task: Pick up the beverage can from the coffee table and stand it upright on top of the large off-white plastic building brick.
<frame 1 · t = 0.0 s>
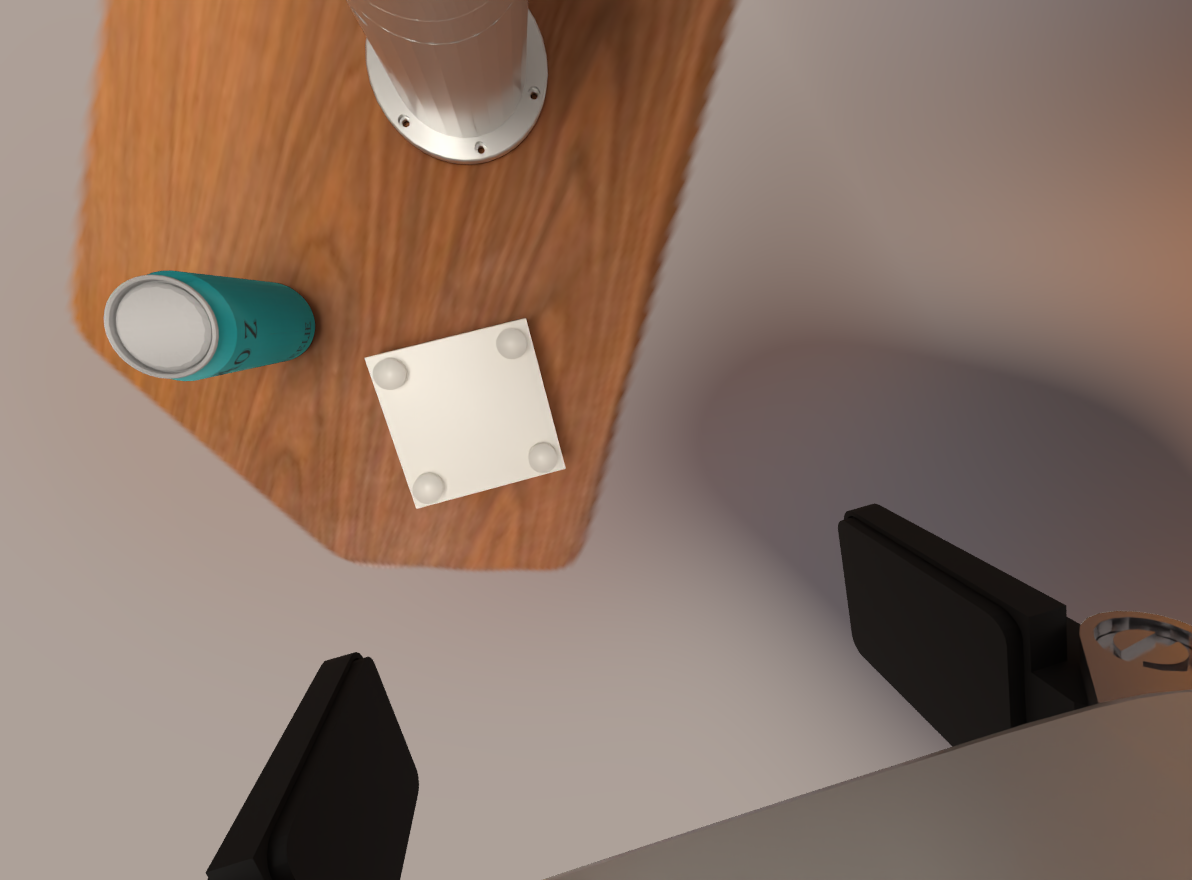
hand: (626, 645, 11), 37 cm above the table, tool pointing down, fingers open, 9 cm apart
beverage can: (284, 322, 42), on the table
brick: (473, 407, 46), on the table
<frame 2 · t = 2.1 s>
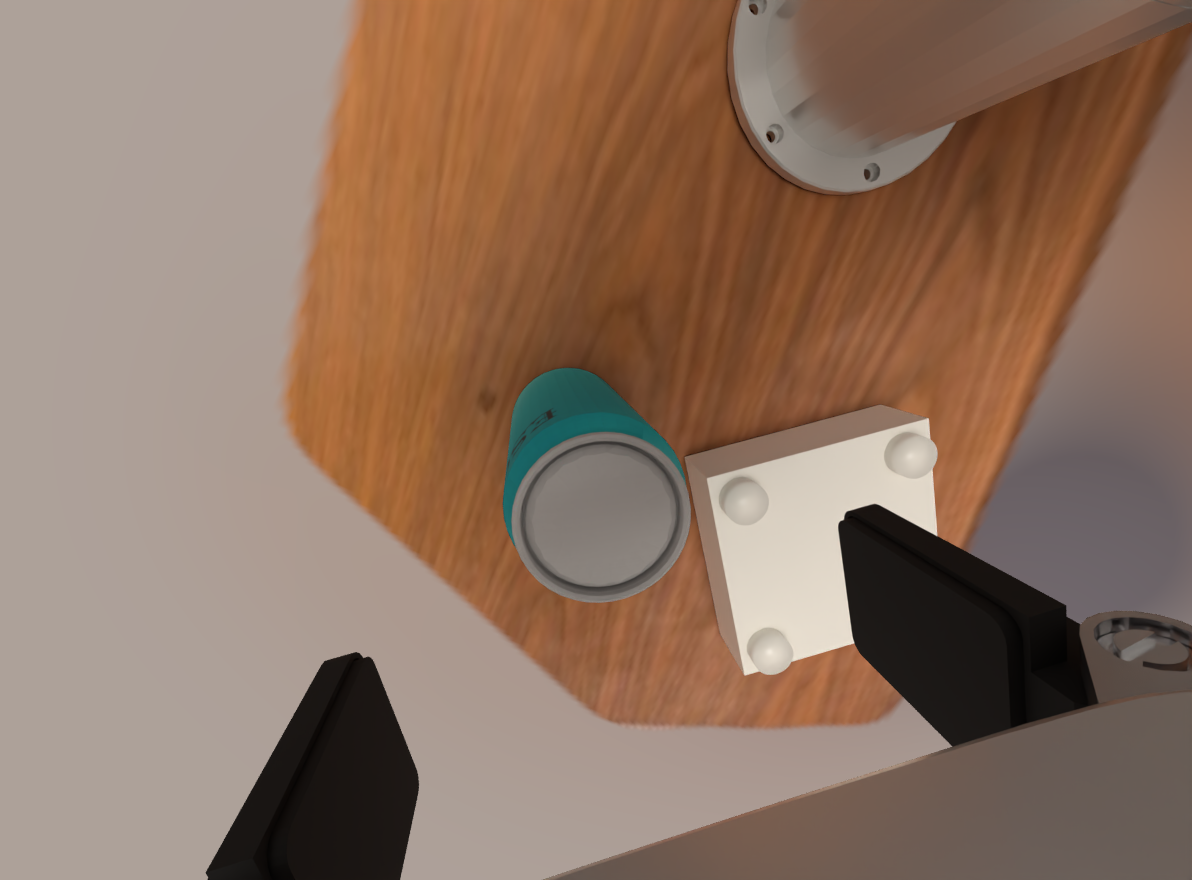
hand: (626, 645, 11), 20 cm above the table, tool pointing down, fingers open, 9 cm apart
beverage can: (565, 416, 30), on the table
brick: (797, 523, 33), on the table
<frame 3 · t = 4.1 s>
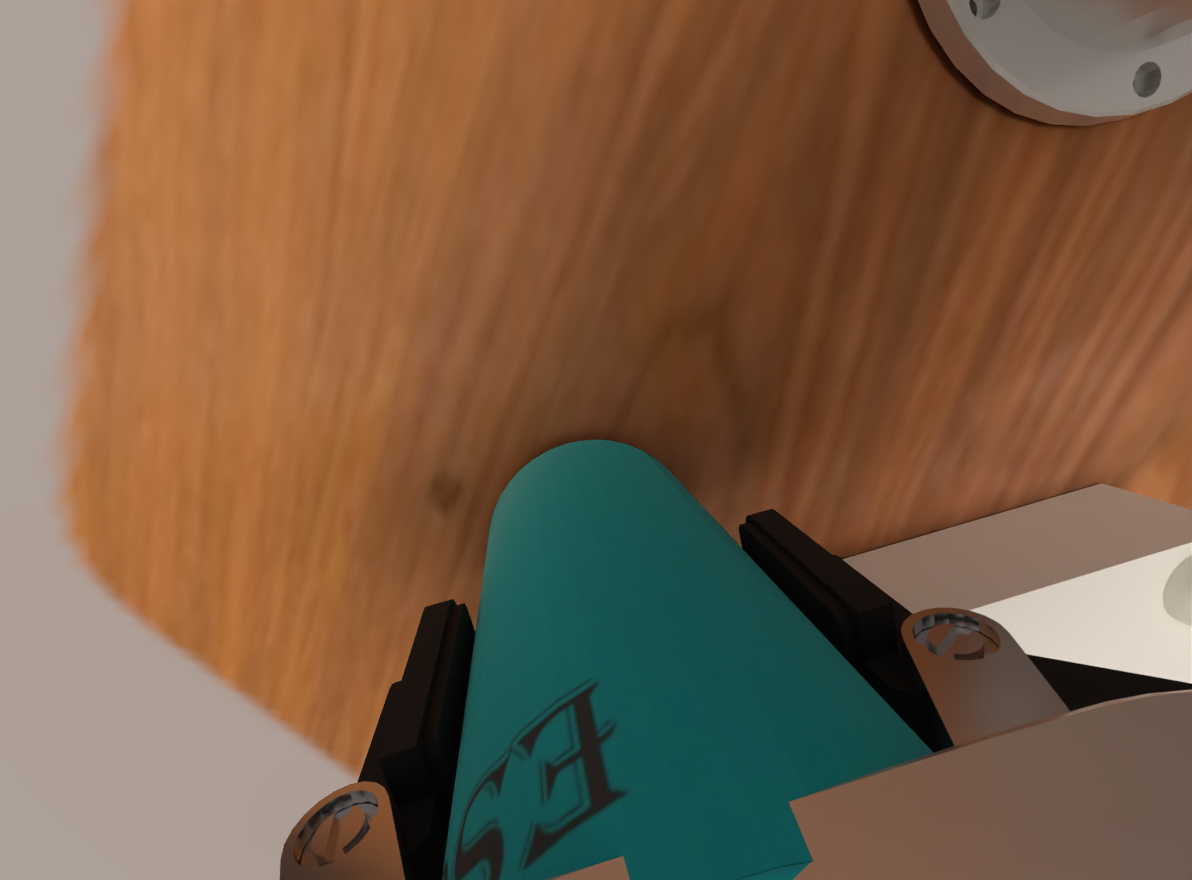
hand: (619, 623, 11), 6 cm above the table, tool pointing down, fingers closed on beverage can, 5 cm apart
beverage can: (584, 514, 17), on the table, touching gripper
brick: (957, 672, 21), on the table
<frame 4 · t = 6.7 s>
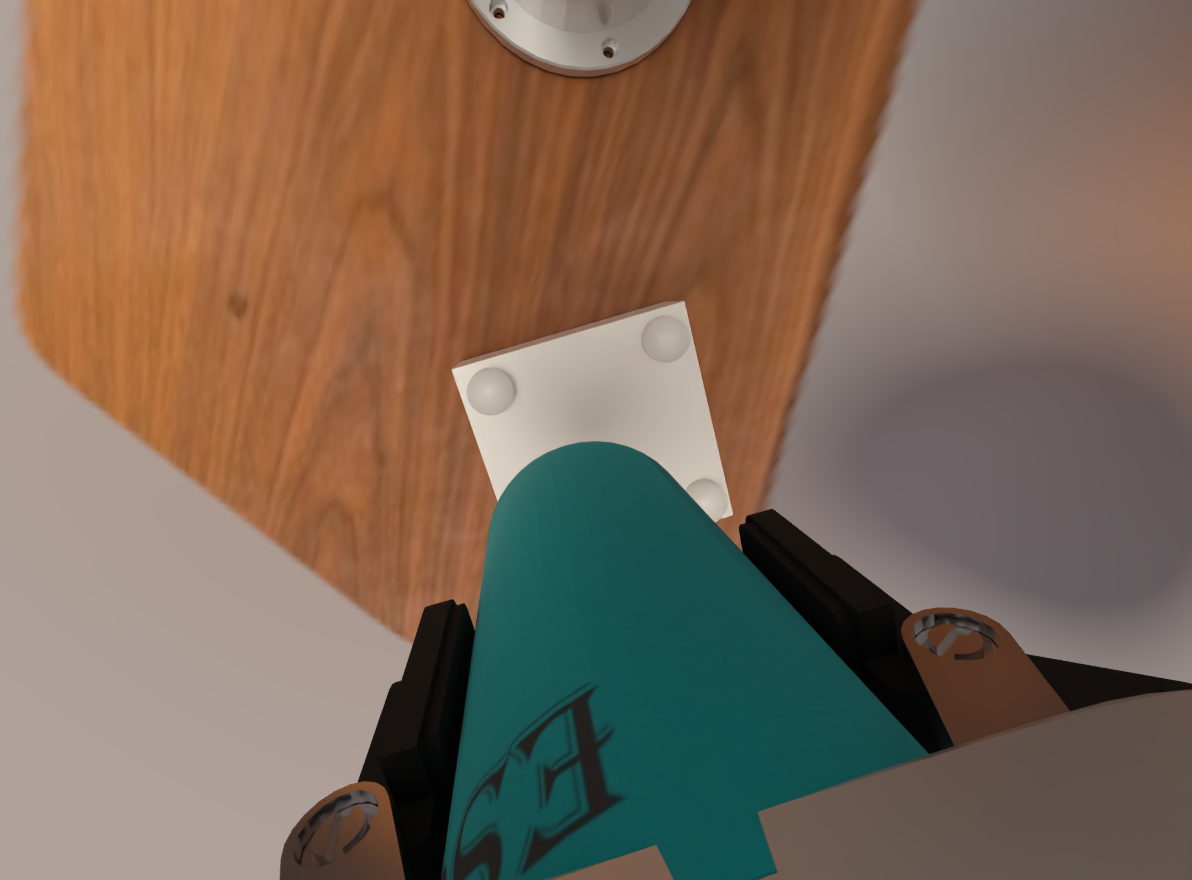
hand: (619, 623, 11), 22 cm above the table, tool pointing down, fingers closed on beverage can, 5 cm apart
beverage can: (584, 515, 17), point 15 cm above the table, touching gripper
brick: (592, 430, 33), on the table
when the fingers open (11 cm above the table, at t = 9.6 s): beverage can drops 1 cm, resting on brick.
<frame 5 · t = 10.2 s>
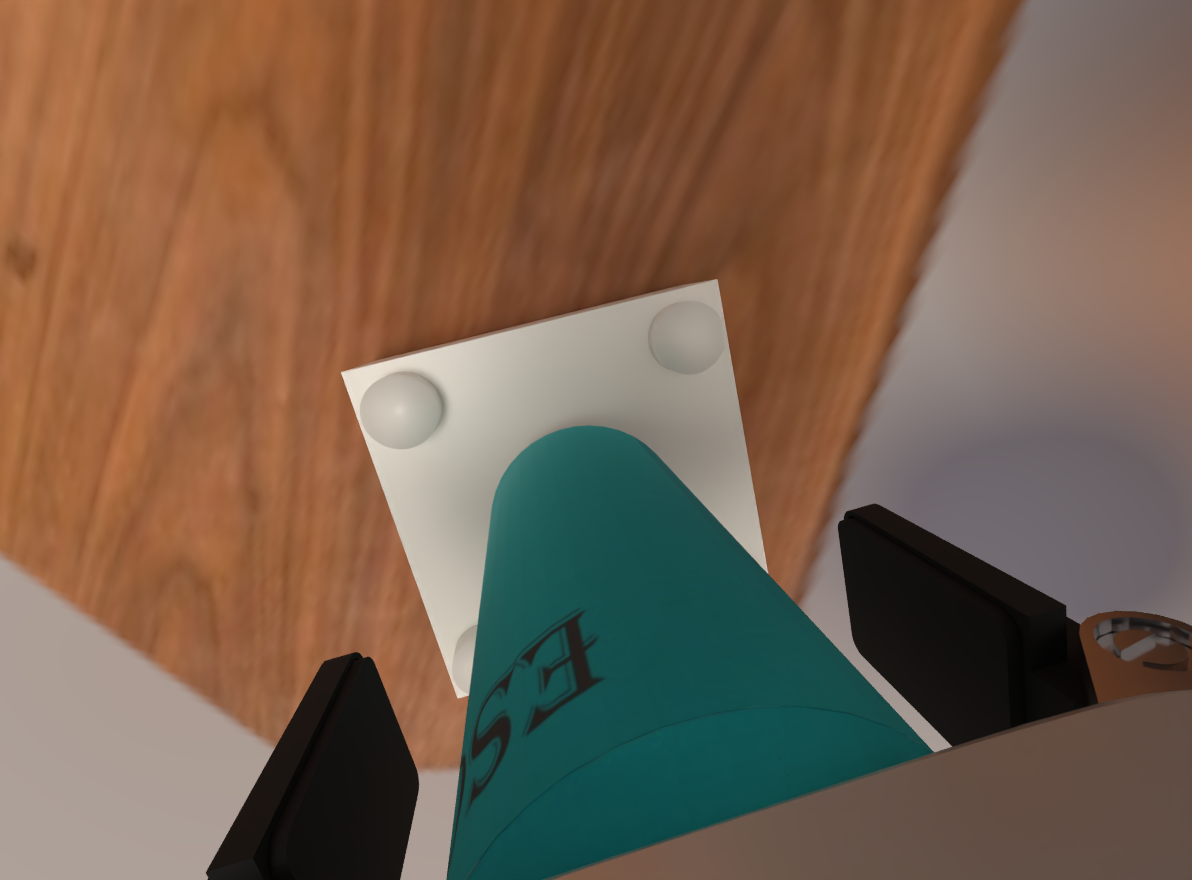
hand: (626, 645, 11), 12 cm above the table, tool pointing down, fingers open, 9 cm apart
beverage can: (579, 495, 19), point 4 cm above the table, touching brick
brick: (569, 468, 22), on the table
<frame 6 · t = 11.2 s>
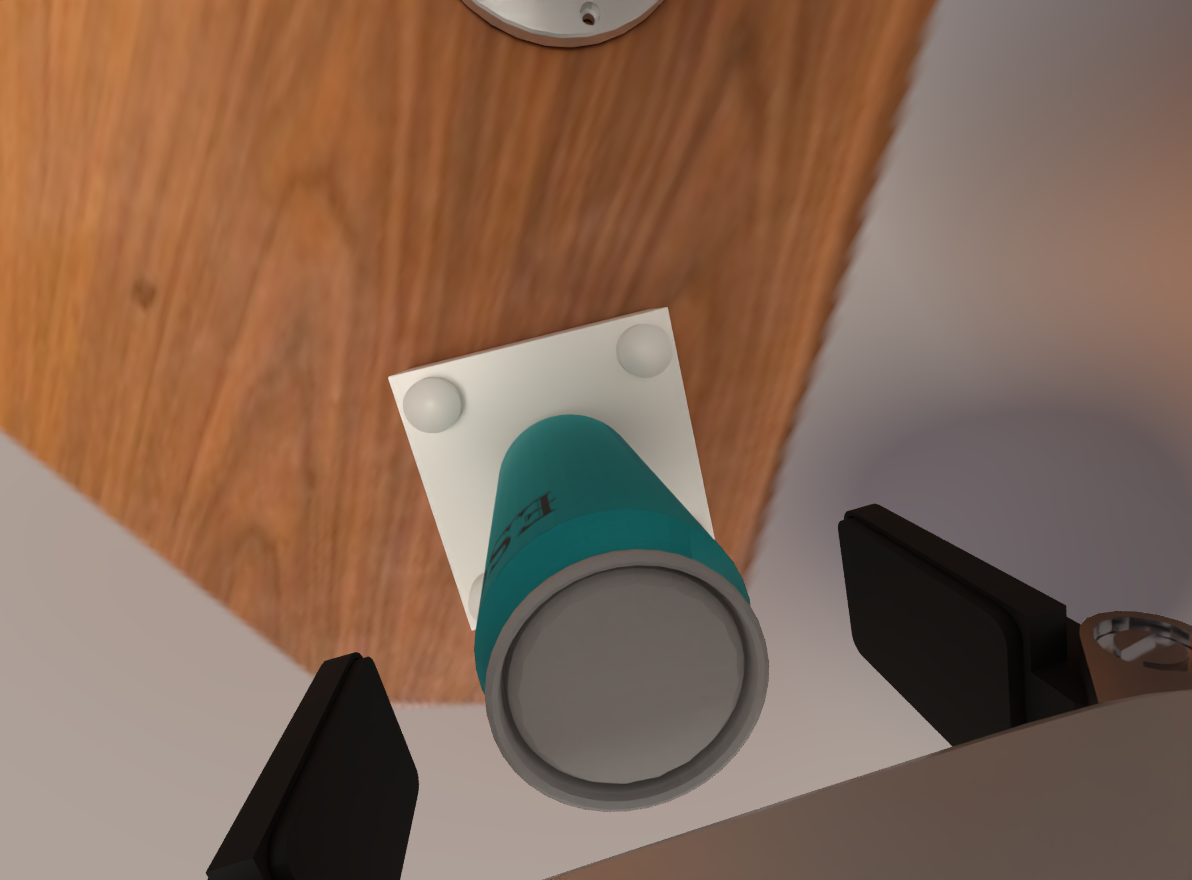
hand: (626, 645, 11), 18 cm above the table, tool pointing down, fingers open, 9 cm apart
beverage can: (565, 471, 24), point 4 cm above the table, touching brick
brick: (559, 454, 28), on the table
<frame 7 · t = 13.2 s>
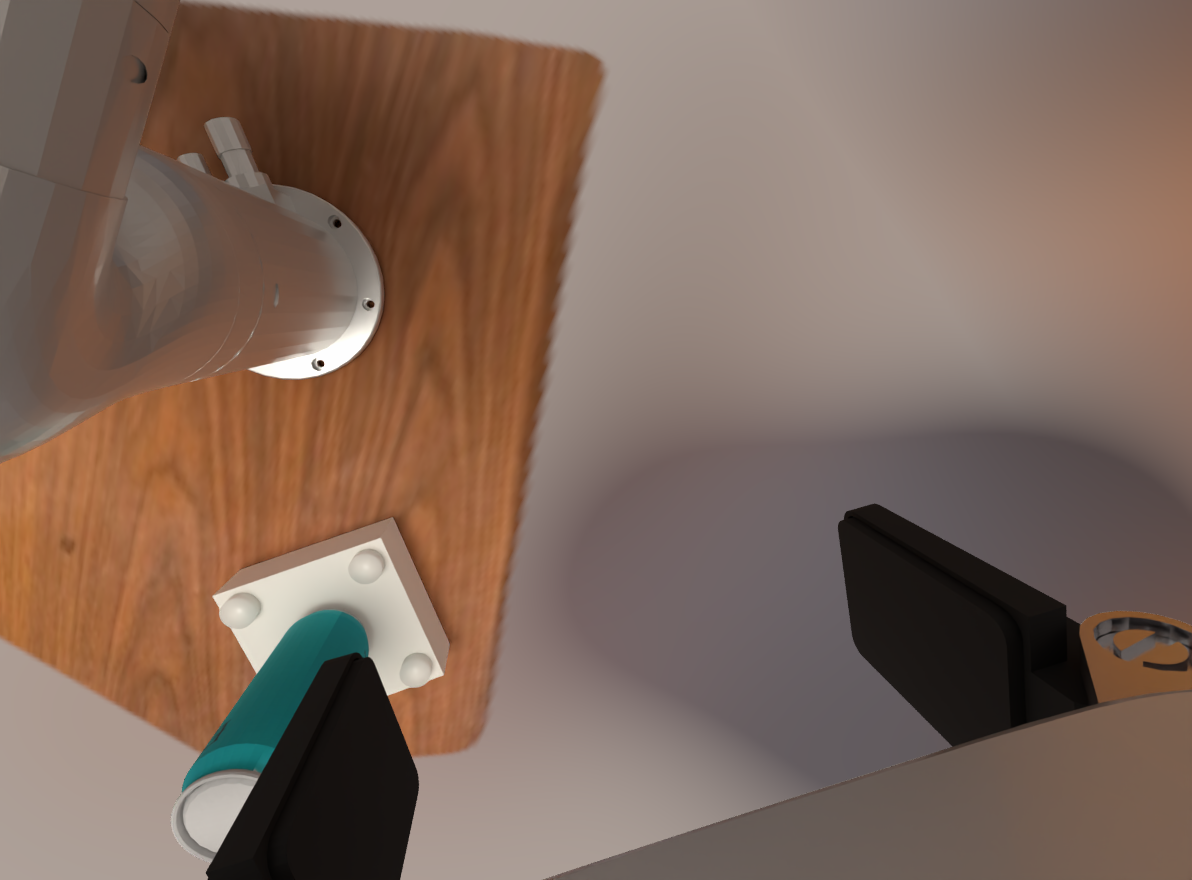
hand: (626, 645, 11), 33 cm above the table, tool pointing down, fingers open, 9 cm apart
beverage can: (334, 634, 40), point 4 cm above the table, touching brick
brick: (349, 608, 44), on the table
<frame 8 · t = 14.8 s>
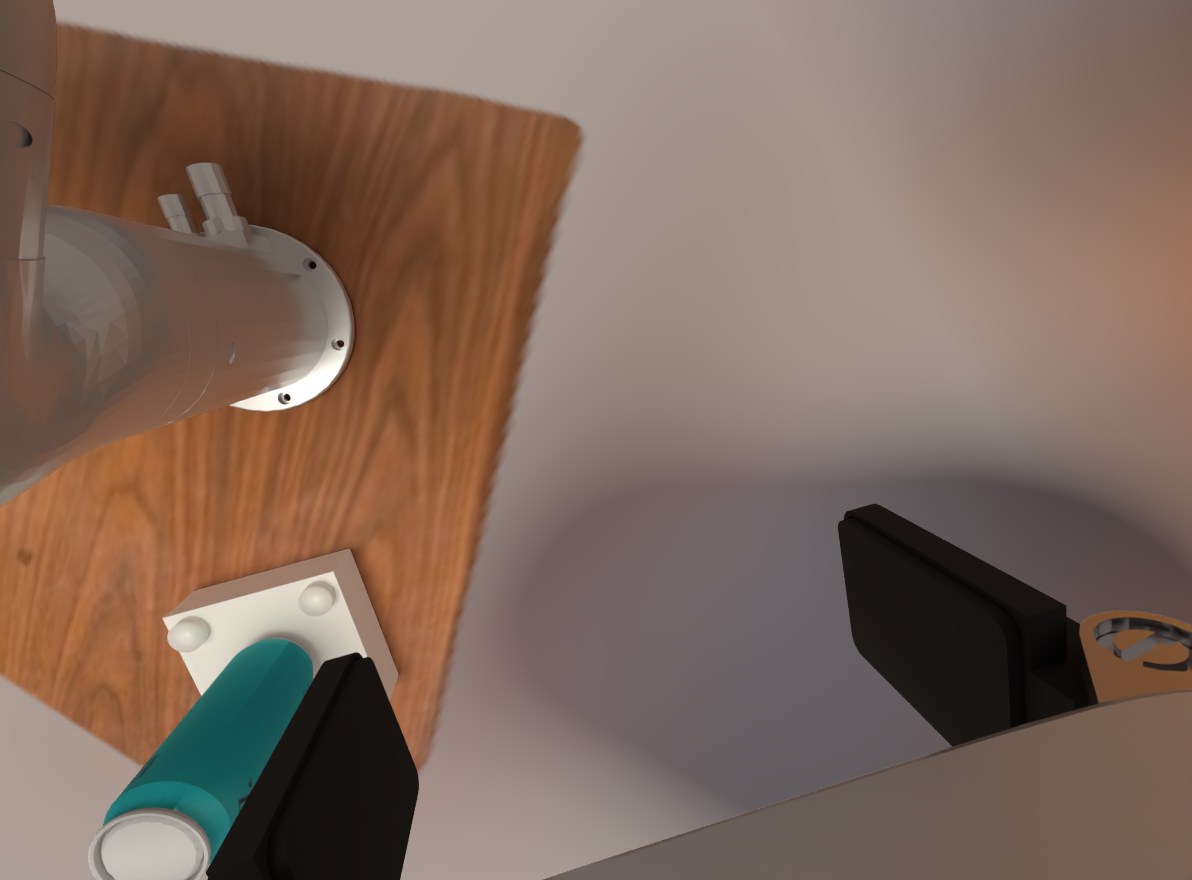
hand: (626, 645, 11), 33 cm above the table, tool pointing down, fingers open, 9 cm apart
beverage can: (281, 662, 41), point 4 cm above the table, touching brick
brick: (301, 634, 44), on the table
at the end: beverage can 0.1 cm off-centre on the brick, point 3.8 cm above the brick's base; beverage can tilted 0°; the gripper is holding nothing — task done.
